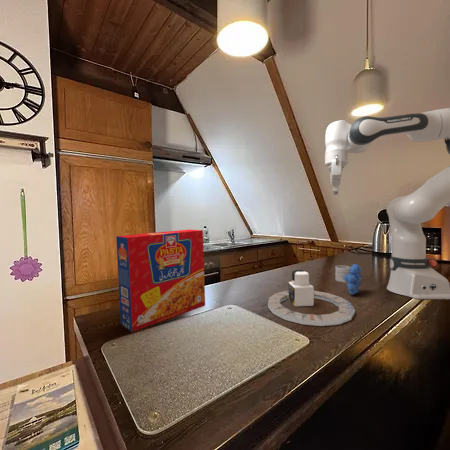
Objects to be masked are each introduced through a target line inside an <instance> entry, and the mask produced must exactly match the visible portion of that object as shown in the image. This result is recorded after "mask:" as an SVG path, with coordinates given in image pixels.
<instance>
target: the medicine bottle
mask: <svg viewBox="0 0 450 450" xmlns="http://www.w3.org/2000/svg"><path fill="white" fill-rule="evenodd" d="M288 291H289V299H288V300H289V302H290V303H291V305H292V306H294V307H313V306H314V304H315V303H314V301H315V300H314V299H315V298H314V291H315V289H314V285H312V284H311V283H310V272H309V271H308V270H305V269H297V270H296V269H295V270H293V271H292V272H291V281H288Z"/></svg>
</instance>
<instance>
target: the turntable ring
mask: <svg viewBox="0 0 450 450" xmlns="http://www.w3.org/2000/svg"><path fill="white" fill-rule="evenodd" d="M314 299H317V300H322V301H325V302H328V303H331V304H333V305H334V306H336V307H338V311H334V312H331V313H326V314H325V313H323V314H313V313H309V314H307V313H301V312H298V311H294V310H291V309H289V308H287V307H284V306H283V304H281V303H282V302H284V301H287V300H289V290H285V291H284V290H283V291H280V292H276V293H274V294H272V295H271V296H269V298H268V301H267V308H268V309H269V310H270V311H271V314H273V315H275V316H277V317H279V318H280V319H283V320H285V321H287V322H291V323H292V322H293V323H296V324H300V325H303V326H304V325H305V326H316V327H325V326H326V327H327V326H328V327H329V326H338V325H339V326H340V325H342V324H345V323H347V322H349V321H352V319H353V318H354V315H355V313H356V311H355V307H354V306H353V305H352V303H351V302H350V301H348V300H347V299H345V298H343V297H341V296H338V295H335V294H332V293H329V292H325V291H324V292H323V291H318V290H314Z"/></svg>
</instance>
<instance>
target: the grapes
mask: <svg viewBox="0 0 450 450" xmlns="http://www.w3.org/2000/svg"><path fill="white" fill-rule="evenodd" d="M350 267H351V268H350V269H349V272H350V273H349V274H346V275H345V276H344V277H343V278H344V280H345V281H346V282H347V283H346V287H347V291H348V293H349V294H350V295H352V296H353V295H355V294H357V293H359V291H360V289H359V287H360V286H361V285H362V283H361V281H362V277H363V275H362V274H361V272H362V268H361V267H360V265H358V264H357V263H353V264H352V265H351V266H350Z"/></svg>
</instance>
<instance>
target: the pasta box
mask: <svg viewBox="0 0 450 450" xmlns="http://www.w3.org/2000/svg"><path fill="white" fill-rule="evenodd" d="M115 238H116V256H117V274H118V275H117V276H118V278H117V279H118V295H119V296H118V297H119V313H120V315H119V316H120V325H121V324H122V325H123V326H125V327H126V328H128V329H129V330H130V331H132V332H133V331H135V330H138V329H141V328H144V327H146V326H149V325H152V324H155V323H158V322H160V323H162V322H161V321H163V322H165V321H164V320H166V321H168V320H171V319H173V318H176V317H178V316H181V315H184V314H186V313H189V312H191V311H194V310H196V309H199V308H202V307H204V306H206V292H205V289H206V288H205V285H206V284H205V258H204V257H205V256H204V230H202V229H182V230H181V229H180V230H170V231H160V232H159V231H158V232H148V233H147V232H146V233H136V234H124V235H116V236H115ZM170 318H171V319H170ZM167 319H168V320H167ZM158 324H159V323H158ZM122 325H121V326H122ZM155 325H156V324H155ZM123 326H122V327H123ZM152 326H153V325H152ZM125 327H124V328H125ZM126 328H125V329H126ZM129 330H128V331H129ZM130 331H129V332H130ZM132 332H131V333H132Z"/></svg>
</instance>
